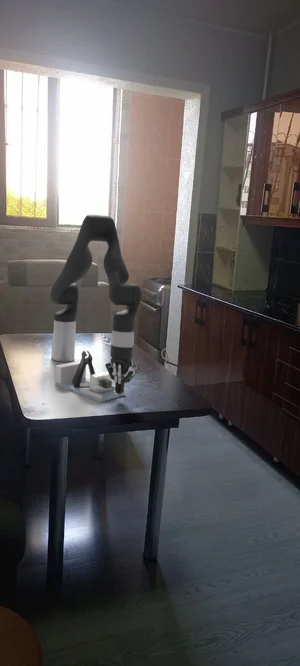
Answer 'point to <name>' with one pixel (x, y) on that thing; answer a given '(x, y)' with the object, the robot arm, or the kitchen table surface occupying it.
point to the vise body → (67, 374)
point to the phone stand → (80, 371)
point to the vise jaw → (101, 382)
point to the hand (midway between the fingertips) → (119, 393)
